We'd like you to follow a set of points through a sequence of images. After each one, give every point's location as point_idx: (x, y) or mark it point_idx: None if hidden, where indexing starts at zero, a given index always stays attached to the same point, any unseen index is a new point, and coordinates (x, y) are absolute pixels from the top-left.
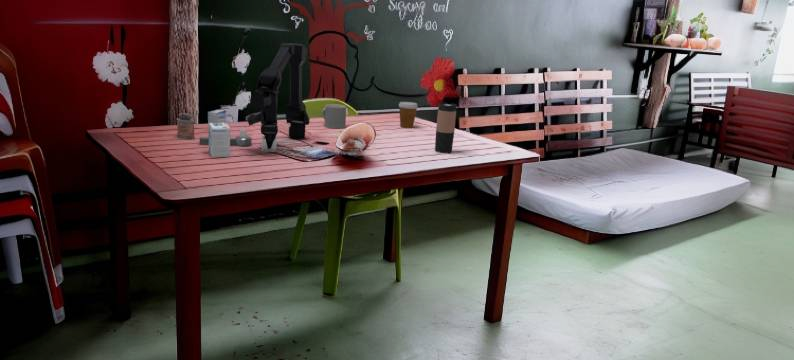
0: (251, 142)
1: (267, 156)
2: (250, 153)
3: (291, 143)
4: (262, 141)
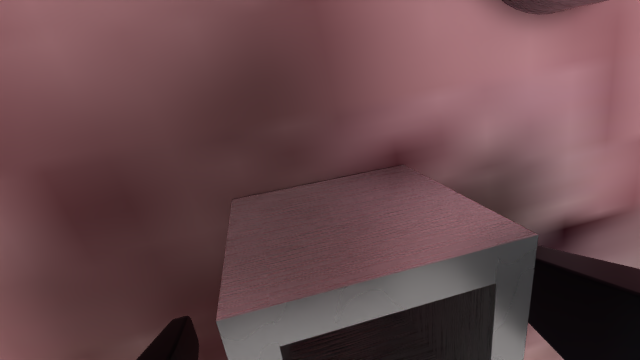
0: (575, 4)
1: (2, 322)
2: (71, 72)
3: None
4: (226, 297)
